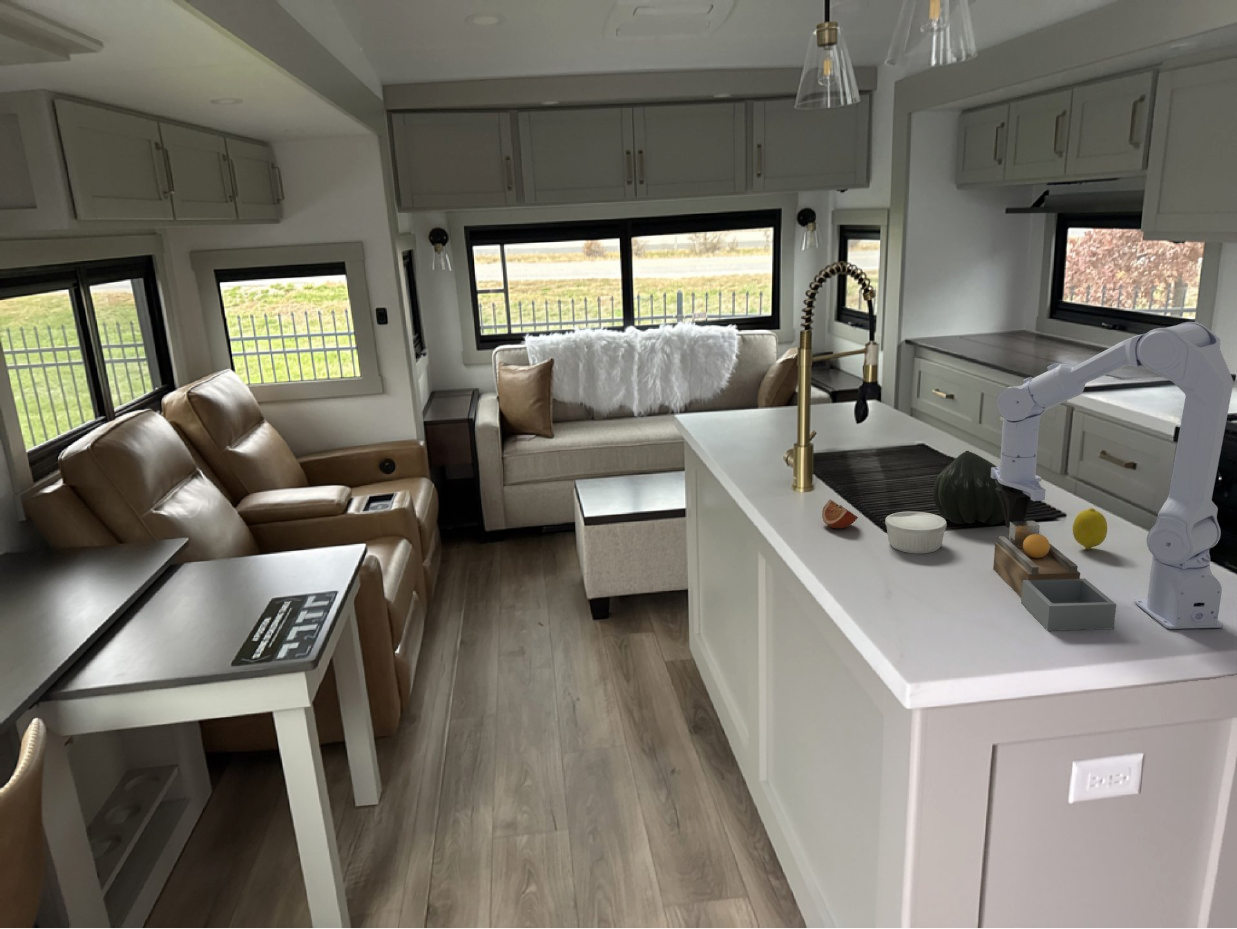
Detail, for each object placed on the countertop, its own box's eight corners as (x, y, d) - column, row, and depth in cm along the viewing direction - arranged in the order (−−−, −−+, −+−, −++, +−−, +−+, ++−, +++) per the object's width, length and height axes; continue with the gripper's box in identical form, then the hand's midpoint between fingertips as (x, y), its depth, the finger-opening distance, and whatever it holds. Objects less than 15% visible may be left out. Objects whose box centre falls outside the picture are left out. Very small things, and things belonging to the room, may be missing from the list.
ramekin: (918, 531, 167) (919, 507, 165) (958, 549, 157) (960, 523, 155) (872, 541, 163) (873, 516, 162) (910, 560, 153) (911, 533, 152)
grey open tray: (1113, 628, 123) (1116, 604, 122) (1047, 630, 124) (1049, 606, 123) (1082, 601, 133) (1084, 578, 132) (1021, 603, 133) (1022, 580, 132)
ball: (1053, 561, 136) (1055, 538, 135) (1028, 562, 137) (1029, 539, 136) (1042, 552, 140) (1044, 530, 139) (1018, 553, 140) (1019, 530, 139)
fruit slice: (816, 522, 176) (816, 499, 174) (845, 518, 177) (845, 496, 176) (833, 535, 168) (833, 511, 166) (863, 531, 169) (864, 508, 168)
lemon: (1109, 555, 150) (1114, 513, 148) (1076, 554, 151) (1080, 513, 149) (1099, 544, 155) (1103, 503, 153) (1066, 543, 156) (1070, 503, 154)
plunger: (1038, 547, 142) (1039, 525, 141) (1014, 548, 142) (1015, 526, 141) (1032, 542, 144) (1033, 520, 143) (1008, 543, 144) (1010, 521, 143)
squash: (1007, 513, 158) (1013, 444, 164) (925, 508, 165) (933, 442, 171) (1011, 541, 169) (1016, 475, 175) (934, 535, 177) (941, 472, 182)
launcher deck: (1077, 601, 133) (1080, 565, 131) (1026, 603, 133) (1028, 567, 132) (1039, 567, 146) (1042, 535, 144) (993, 569, 147) (995, 536, 145)
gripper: (1065, 462, 137) (1058, 539, 140) (1019, 442, 151) (1014, 512, 154) (1024, 465, 136) (1018, 542, 140) (981, 445, 150) (977, 515, 154)
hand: (1013, 527), depth 147 cm, fingers closed
